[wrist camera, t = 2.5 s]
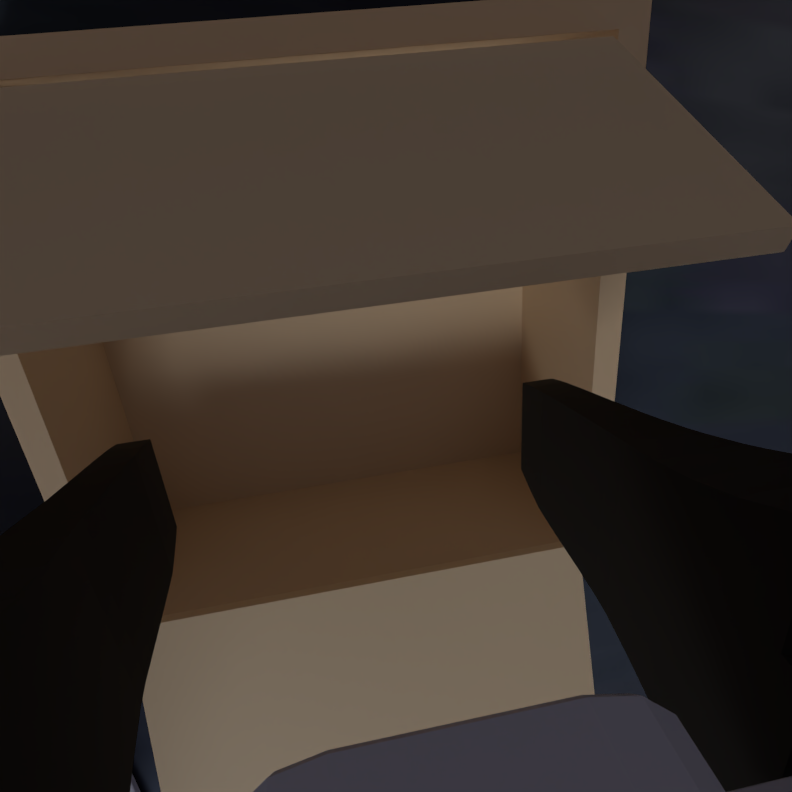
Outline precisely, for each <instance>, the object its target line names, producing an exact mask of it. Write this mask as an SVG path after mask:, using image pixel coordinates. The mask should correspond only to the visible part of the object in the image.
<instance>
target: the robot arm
mask: <svg viewBox="0 0 792 792" xmlns="http://www.w3.org/2000/svg"><path fill="white" fill-rule="evenodd" d="M521 470H522V472H523V475H524V477H525V479H526V482H527V484H528V486H529V488H530V491H531V493H532V495H533V497H534V499H535V501H536V503H537V505H538V507H539V509H540V511H541V512H542V514H543V516H544V517H545V519H546V520H547V522H548V523H549V525H550V527H551V528H552V530H553V531H554V533H555V534H556V536H557V537H558V539H559V541H560V542H561V544H562V545H563V547H564V548H565V550H566V551H567V553H568V554H569V556H570V557H571V559H572V560H573V562H574V563H575V565H576V566H577V568H578V569H579V571H580V572H581V574H582V575H583V577H584V579H585V580H586V582H587V583H588V585H589V586H590V588H591V589H592V591H593V592H594V594H595V596H596V597H597V599H598V601H599V602H600V604H601V606H602V607H603V609H604V611H605V612H606V614H607V616H608V618H609V620H610V622H611V624H612V626H613V628H614V630H615V632H616V634H617V636H618V638H619V640H620V642H621V644H622V646H623V648H624V650H625V652H626V654H627V656H628V657H629V660H630V662H631V664H632V666H633V668H634V670H635V672H636V674H637V676H638V678H639V681H640V683H641V685H642V687H643V689H644V691H645V693H646V695H647V697H648V699H647V698H645V697H643V696H641V695H635V694H596V695H579V696H574V697H570V698H565V699H561V700H556V701H551V702H547V703H542V704H538V705H533V706H528V707H524V708H519V709H514V710H510V711H505V712H501V713H496V714H491V715H487V716H482V717H478V718H473V719H468V720H464V721H459V722H455V723H450V724H445V725H441V726H436V727H432V728H427V729H422V730H418V731H413V732H409V733H404V734H399V735H395V736H390V737H386V738H381V739H376V740H372V741H367V742H363V743H358V744H353V745H349V746H344V747H340V748H335V749H330V750H327V751H324V752H322V753H319V754H317V755H314V756H312V757H309V758H307V759H304V760H302V761H299V762H297V763H294V764H292V765H289V766H287V767H284V768H282V769H279V770H277V771H274V772H273V773H272V774H271V775H270V776H269V777H268V778H266V779H265V780H264V781H263V782H262V783H261V784H260V785H259V786H258V787H257V788H256V789H255V790H254V791H253V792H792V454H791V453H786V452H781V451H775V450H770V449H765V448H760V447H756V446H751V445H747V444H742V443H738V442H735V441H731V440H727V439H723V438H719V437H716V436H712V435H708V434H704V433H701V432H698V431H694V430H691V429H688V428H685V427H682V426H679V425H676V424H673V423H670V422H667V421H664V420H661V419H658V418H656V417H653V416H650V415H647V414H645V413H642V412H639V411H637V410H634V409H632V408H629V407H627V406H624V405H622V404H619V403H617V402H614V401H612V400H609V399H607V398H604V397H602V396H599V395H597V394H594V393H592V392H589V391H587V390H584V389H582V388H579V387H577V386H574V385H571V384H569V383H566V382H563V381H560V380H556V379H545V380H538V381H532V382H525V383H523V387H522V442H521ZM176 533H177V525H176V522H175V519H174V515H173V512H172V509H171V506H170V502H169V499H168V496H167V492H166V489H165V486H164V482H163V479H162V476H161V473H160V469H159V466H158V463H157V459H156V456H155V453H154V450H153V446H152V443H151V440H150V439H147V440H141V441H134V442H127V443H121V444H116V445H114V446H113V447H111V448H110V449H108V450H107V451H106V452H104V453H103V454H102V455H100V456H99V457H98V458H97V459H95V460H94V461H93V462H92V463H91V464H89V465H88V466H87V467H86V468H85V469H83V470H82V471H81V472H80V473H79V474H77V475H76V476H75V477H74V478H73V479H71V480H70V481H69V482H68V483H67V484H65V485H64V486H63V487H62V488H61V489H59V490H58V491H57V492H56V493H55V494H53V495H52V496H51V497H50V498H49V499H47V500H46V501H45V502H44V503H42V504H41V505H40V506H39V507H37V508H36V509H35V510H33V511H32V512H31V513H29V514H28V515H27V516H26V517H24V518H23V519H22V520H20V521H19V522H18V523H16V524H15V525H14V526H12V527H11V528H10V529H8V530H7V531H6V532H5V533H3V534H2V535H1V536H0V792H140V790H139V787H138V785H137V783H136V781H135V779H134V776H133V774H132V769H133V761H134V753H135V746H136V738H137V731H138V724H139V716H140V709H141V703H142V698H143V693H144V689H145V684H146V679H147V675H148V671H149V667H150V663H151V659H152V655H153V651H154V647H155V643H156V639H157V635H158V631H159V627H160V623H161V619H162V616H163V612H164V607H165V603H166V599H167V595H168V591H169V587H170V583H171V578H172V574H173V566H174V556H175V545H176Z"/></svg>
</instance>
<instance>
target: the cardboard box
mask: <svg viewBox="0 0 792 792" xmlns="http://www.w3.org/2000/svg"><path fill="white" fill-rule="evenodd" d="M651 6H652V0H481V1H468V2H454V3H441V4H427V5H414V6H400V7H387V8H373V9H360V10H346V11H333V12H319V13H306V14H292V15H279V16H265V17H252V18H238V19H225V20H211V21H198V22H184V23H171V24H157V25H144V26H130V27H117V28H103V29H90V30H76V31H63V32H49V33H36V34H22V35H9V36H0V87H10V86H22V85H34V84H46V83H58V82H70V81H82V80H94V79H106V78H117V77H129V76H141V75H153V74H165V73H177V72H189V71H201V70H213V69H225V68H237V67H249V66H261V65H273V64H285V63H297V62H309V61H321V60H333V59H345V58H357V57H369V56H381V55H393V54H405V53H417V52H429V51H441V50H453V49H465V48H477V47H489V46H501V45H513V44H525V43H537V42H549V41H561V40H573V39H584V38H596V37H608V36H614V37H615V38H616V39H617V40H618V41H619V42H620V43H621V44H622V45H623V46H624V47H625V48H626V49H627V51H628V52H629V53H630V54H631V55H632V56H633V57H634V58H635V59H636V60H637V61H638V62H639V63H640V64H641V65H642V66H643V67H644V68H645V69H646V59H647V49H648V38H649V27H650V16H651ZM625 284H626V273H620V274H613V275H605V276H598V277H590V278H583V279H575V280H568V281H560V282H553V283H545V284H538V285H530V286H523V287H515V288H508V289H500V290H493V291H485V292H478V293H470V294H463V295H455V296H448V297H440V298H432V299H425V300H417V301H410V302H402V303H395V304H387V305H380V306H372V307H365V308H357V309H350V310H342V311H335V312H327V313H320V314H312V315H305V316H297V317H290V318H282V319H275V320H267V321H260V322H252V323H245V324H237V325H230V326H222V327H214V328H207V329H199V330H192V331H184V332H177V333H169V334H162V335H154V336H147V337H139V338H132V339H124V340H117V341H109V342H102V343H94V344H87V345H79V346H72V347H64V348H57V349H49V350H42V351H34V352H27V353H19V354H12V355H4V356H0V397H1V399H2V402H3V404H4V406H5V409H6V411H7V413H8V416H9V418H10V421H11V423H12V425H13V428H14V430H15V433H16V435H17V437H18V440H19V442H20V444H21V447H22V449H23V452H24V454H25V456H26V459H27V461H28V464H29V466H30V468H31V471H32V473H33V475H34V478H35V480H36V483H37V485H38V487H39V490H40V492H41V495H42V497H43V499H44V502H45V501H46V500H47V499H49V498H50V497H51V496H52V495H53V494H55V493H56V492H57V491H58V490H59V489H61V488H62V487H63V486H64V485H65V484H67V483H68V482H69V481H70V480H71V479H73V478H74V477H75V476H76V475H77V474H79V473H80V472H81V471H82V470H83V469H85V468H86V467H87V466H88V465H89V464H91V463H92V462H93V461H94V460H95V459H97V458H98V457H99V456H100V455H102V454H103V453H104V452H106V451H107V450H108V449H110V448H111V447H113V446H114V445H116V444H121V443H127V442H134V441H141V440H147V439H150V440H151V443H152V446H153V450H154V453H155V456H156V459H157V463H158V466H159V469H160V473H161V476H162V479H163V482H164V486H165V489H166V492H167V496H168V499H169V502H170V506H171V509H172V512H173V515H174V519H175V522H176V525H177V533H176V545H175V556H174V566H173V574H172V578H171V583H170V587H169V591H168V595H167V599H166V603H165V607H164V612H163V615H169V614H174V613H179V612H185V611H190V610H196V609H201V608H206V607H212V606H217V605H222V604H228V603H233V602H238V601H244V600H249V599H255V598H260V597H265V596H271V595H276V594H281V593H287V592H292V591H297V590H303V589H308V588H314V587H319V586H324V585H330V584H335V583H340V582H346V581H351V580H356V579H362V578H367V577H373V576H378V575H383V574H389V573H394V572H399V571H405V570H410V569H415V568H421V567H426V566H432V565H437V564H442V563H448V562H453V561H458V560H464V559H469V558H474V557H480V556H485V555H491V554H496V553H501V552H507V551H512V550H517V549H523V548H528V547H533V546H539V545H544V544H550V543H555V542H560V541H559V539H558V537H557V536H556V534H555V533H554V531H553V530H552V528H551V527H550V525H549V523H548V522H547V520H546V519H545V517H544V516H543V514H542V512H541V511H540V509H539V507H538V505H537V503H536V501H535V499H534V497H533V495H532V493H531V491H530V488H529V486H528V484H527V482H526V479H525V477H524V475H523V472H522V470H521V442H522V387H523V383H525V382H532V381H538V380H545V379H556V380H560V381H563V382H566V383H569V384H571V385H574V386H577V387H579V388H582V389H584V390H587V391H589V392H592V393H594V394H597V395H599V396H602V397H604V398H607V399H609V400H612V401H614V402H615V391H616V380H617V370H618V359H619V348H620V338H621V327H622V316H623V305H624V295H625Z"/></svg>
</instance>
